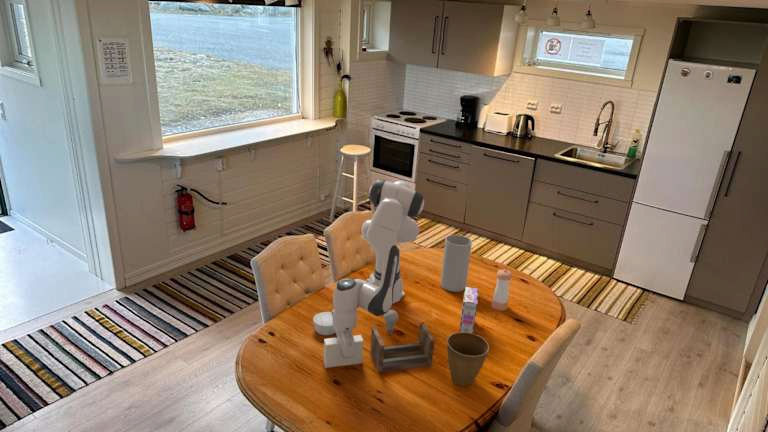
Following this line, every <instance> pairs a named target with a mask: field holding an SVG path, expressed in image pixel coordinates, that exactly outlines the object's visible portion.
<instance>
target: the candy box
mask: <svg viewBox="0 0 768 432" xmlns="http://www.w3.org/2000/svg"><path fill="white" fill-rule="evenodd" d="M478 299H479V288H476V287H470V286H466V287H465V289H464V292H463V299H462V300H463V301H462V307H461V313H460V315H461V316H460V324H459V330H458V331H459V332H468V333H473V334H474V328H475V321H476V320H475V319H476V315H477V310H478V309H477V308H478V301H479V300H478Z"/></svg>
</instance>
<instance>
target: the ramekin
mask: <svg viewBox="0 0 768 432" xmlns="http://www.w3.org/2000/svg"><path fill="white" fill-rule="evenodd" d="M332 320H333V317H332V311H322V312H319V313H316V314H315V315H314V316H313V318H312V323H313V326H314V330H315V332H316V333H317V334H318V335H322V336H331V335H333V334H336V332H335V329H334V328H333V325H332V323H333V321H332Z"/></svg>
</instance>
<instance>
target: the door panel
mask: <svg viewBox="0 0 768 432" xmlns="http://www.w3.org/2000/svg"><path fill="white" fill-rule="evenodd" d="M353 337H354V343H355V353H354V356H353V357H349V358H346V359H343V357H342V353H343V352H342V349H341V346H340V342H339V339H338V337H337V336H336V337H329V338H324V339H323V363H324V367H325V369H327V368H334V367H343V366H352V365H359V364H363V356H364V355H363V351H364V339H363V337H362V334H357V335H353Z"/></svg>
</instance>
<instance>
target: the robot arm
mask: <svg viewBox="0 0 768 432" xmlns="http://www.w3.org/2000/svg"><path fill="white" fill-rule="evenodd" d="M368 200H369V201H370V202H369V203H370V204H371V205H373V208H374V209H375V211H374V213H373V215H372V217H371V219H366V220H365V221H364V222H363V224H362V226H361V236H362V238H363V240H364V241H366V242H367V243H368V245H370V247H371V248H372V250H373V251H374V253H375V267H374V270H373V273H371V274H370V275H369V277H368V278H366V280H364V279H361V278H355V279H354V278H350V277H345V278H341V279H339V280H337V283H336V284H335V286H334V290H333V300H332V301H333V302H332V303H333V305H332V306H333V309H332V310H331V312H332V317H333V320H332V321H333V323H332V325H333V328H334V329H335V332H336V333H335V335H336V338H337V337H338V339H339V342H340V346H341V349H342V352H343V353H342V357H343V359H346V358H349V357H353V356H354V353H355V343H354V337H353V336H354V334H353V333H352V332H353V331H354V330H355V329H356V328H357V323H358V322H357V321H358V312H357V309H358V308H361V309H363V310H364V311H367V312H369V313H370V314H372V315H373V316H375V317H381V316H384V314H386V313H387V312H389V310H392V309H391V308H392V306H393V304H395V303H398V302H399V301H400V300H401V298H403V297H405V295H406V293H405V292H404V290H403V279H402V278H401V269H400V268H401V254H400V248H399V247H398V244H399V243H401V244H402V243H409V242H414V241H415V240H417V238H418V236H419V234H420V233H419V232H420V227H419V225H418V222H417V221H416V220H415V219H413V218H416V217H418V216H419V215H420V213H421V212H422V211H423V209H424V207H425V196H424V195H423V193H422V192H420V191H418V190H414V189H412V187H411V185H410V184H409V183H408V182H406V181H402V180H396V181H395V182H392V181H388V180H387V181H386V180H385V179H381V178H379V179H376V180H374V181H373V182H372V184H371V185H370V187H369V190H368ZM397 243H398V244H397Z"/></svg>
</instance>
